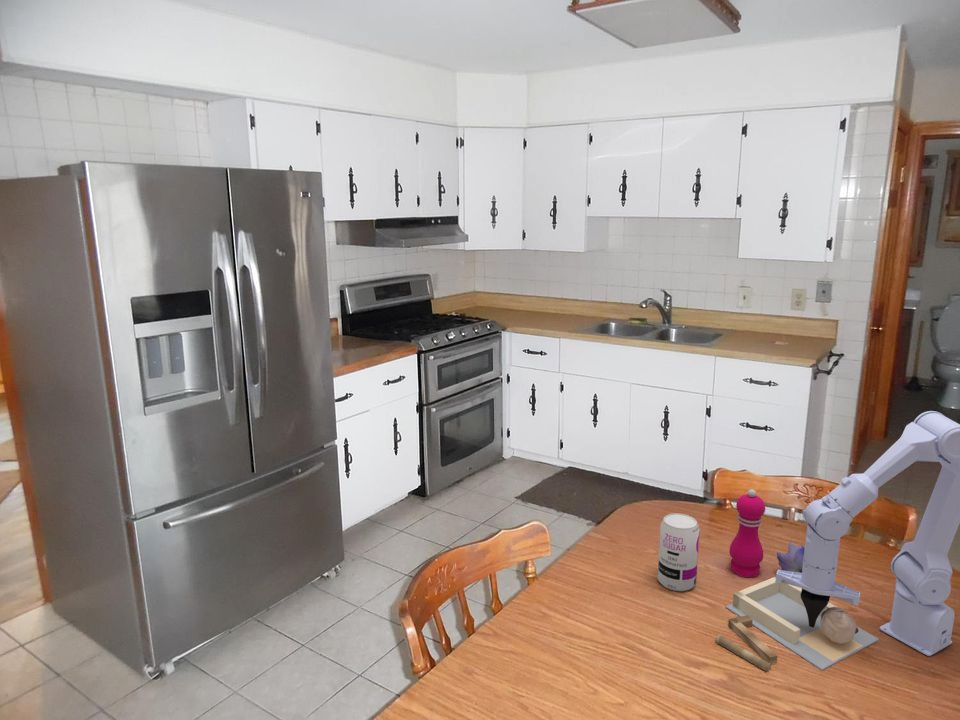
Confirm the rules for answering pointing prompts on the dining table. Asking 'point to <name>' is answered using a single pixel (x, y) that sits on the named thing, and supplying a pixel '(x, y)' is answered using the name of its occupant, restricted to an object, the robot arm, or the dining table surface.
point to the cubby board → (794, 623)
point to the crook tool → (751, 638)
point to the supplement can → (678, 552)
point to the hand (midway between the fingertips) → (812, 624)
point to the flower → (792, 558)
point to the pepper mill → (747, 536)
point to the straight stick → (743, 653)
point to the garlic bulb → (838, 625)
